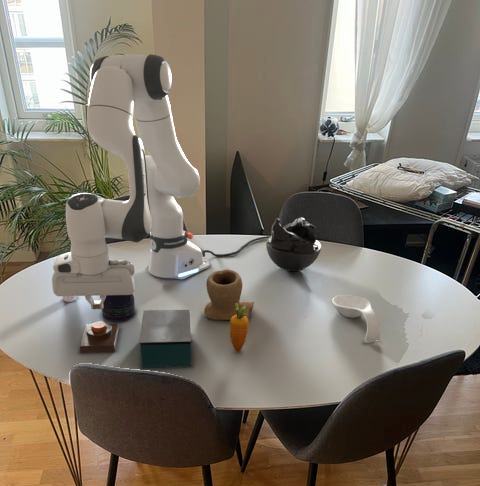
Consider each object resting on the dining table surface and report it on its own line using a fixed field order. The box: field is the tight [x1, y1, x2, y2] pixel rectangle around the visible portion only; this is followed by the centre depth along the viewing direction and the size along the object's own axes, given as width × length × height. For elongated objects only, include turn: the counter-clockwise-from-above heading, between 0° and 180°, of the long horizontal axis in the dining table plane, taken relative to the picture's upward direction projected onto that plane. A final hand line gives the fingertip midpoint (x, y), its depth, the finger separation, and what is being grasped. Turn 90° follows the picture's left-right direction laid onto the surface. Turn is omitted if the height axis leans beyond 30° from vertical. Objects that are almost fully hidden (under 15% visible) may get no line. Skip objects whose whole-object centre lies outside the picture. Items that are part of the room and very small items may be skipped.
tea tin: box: [139, 343, 192, 369], centre depth 125 cm, size 15×13×8 cm
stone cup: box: [203, 269, 255, 321], centre depth 140 cm, size 15×12×15 cm
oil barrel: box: [101, 292, 136, 323], centre depth 138 cm, size 10×10×15 cm
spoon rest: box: [331, 294, 382, 344], centre depth 143 cm, size 24×12×7 cm, turn 12°
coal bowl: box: [265, 216, 322, 272], centre depth 171 cm, size 20×20×19 cm
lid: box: [139, 309, 192, 346], centre depth 122 cm, size 15×13×1 cm
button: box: [91, 320, 106, 333], centre depth 127 cm, size 4×4×2 cm
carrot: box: [229, 303, 250, 354], centre depth 124 cm, size 5×5×15 cm
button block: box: [78, 322, 120, 354], centre depth 128 cm, size 11×9×4 cm
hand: (97, 308), depth 124 cm, fingers closed
